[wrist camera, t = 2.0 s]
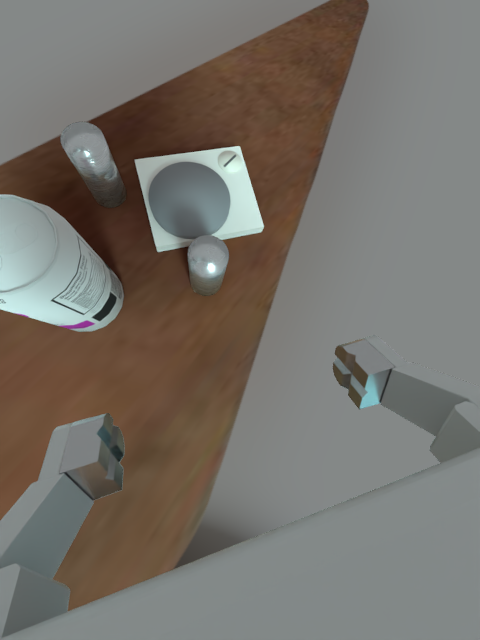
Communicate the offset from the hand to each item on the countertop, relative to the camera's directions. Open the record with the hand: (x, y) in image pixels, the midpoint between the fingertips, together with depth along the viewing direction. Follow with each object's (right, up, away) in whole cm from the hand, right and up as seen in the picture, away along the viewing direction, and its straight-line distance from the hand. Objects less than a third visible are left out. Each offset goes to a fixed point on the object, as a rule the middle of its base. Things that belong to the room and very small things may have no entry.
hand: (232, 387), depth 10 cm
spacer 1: (-16, +19, +25) cm, 35 cm away
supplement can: (-18, +5, +23) cm, 29 cm away
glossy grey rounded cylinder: (-4, +7, +25) cm, 27 cm away
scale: (-5, +18, +27) cm, 33 cm away
